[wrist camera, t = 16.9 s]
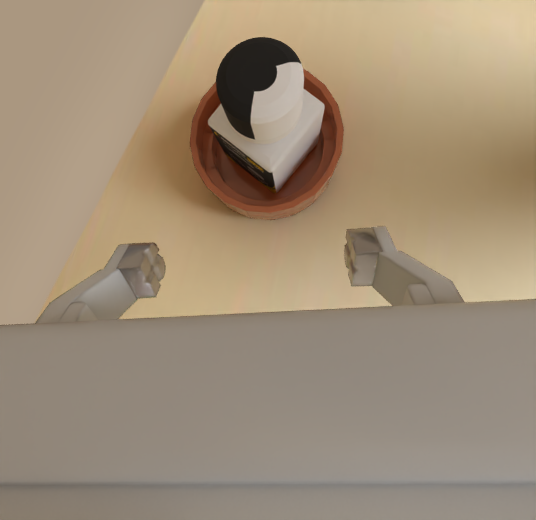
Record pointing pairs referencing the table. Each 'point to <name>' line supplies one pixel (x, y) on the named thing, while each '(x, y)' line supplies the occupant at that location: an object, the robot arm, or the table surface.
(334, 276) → the table surface
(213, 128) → the medicine bottle
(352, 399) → the robot arm
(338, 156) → the bowl
